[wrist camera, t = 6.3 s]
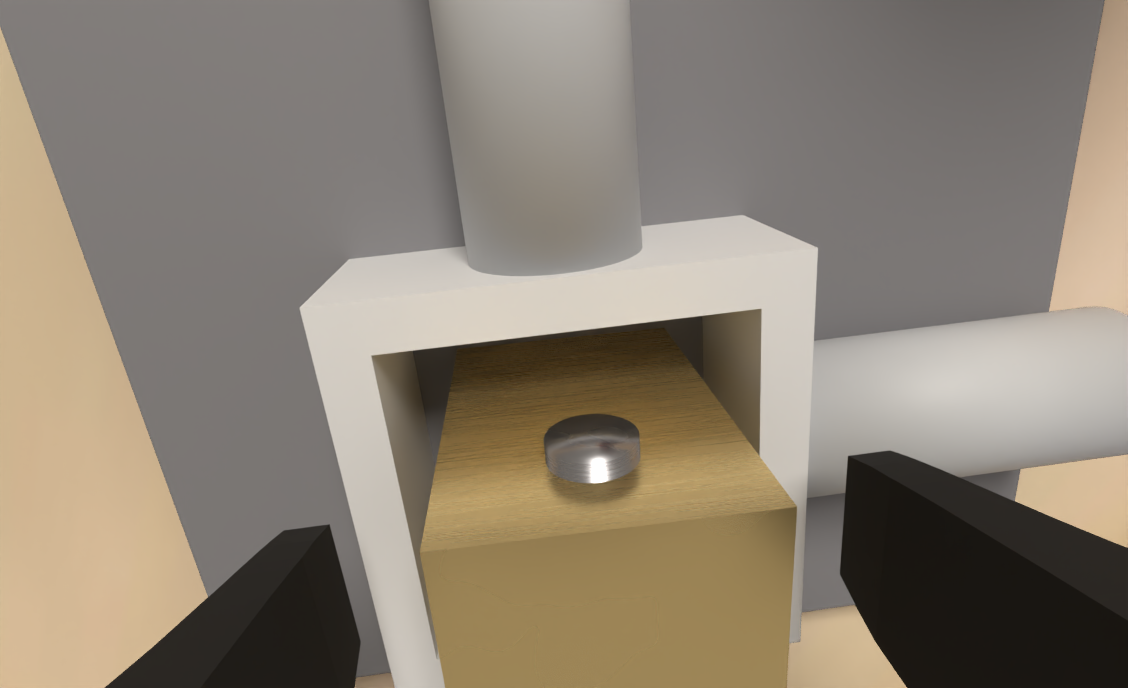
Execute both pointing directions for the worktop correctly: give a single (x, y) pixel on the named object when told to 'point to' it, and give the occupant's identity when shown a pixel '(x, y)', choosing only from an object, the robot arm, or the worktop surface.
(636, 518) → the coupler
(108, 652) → the worktop surface
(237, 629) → the robot arm
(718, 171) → the shaft board
